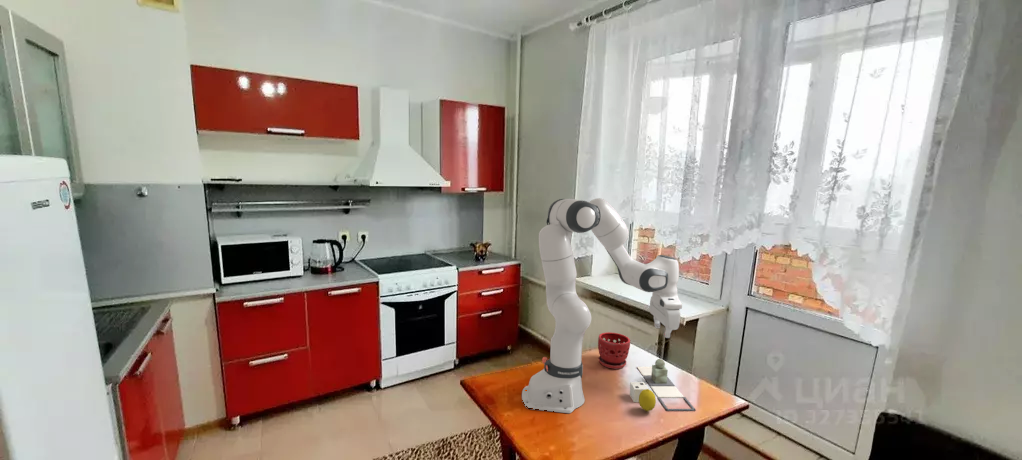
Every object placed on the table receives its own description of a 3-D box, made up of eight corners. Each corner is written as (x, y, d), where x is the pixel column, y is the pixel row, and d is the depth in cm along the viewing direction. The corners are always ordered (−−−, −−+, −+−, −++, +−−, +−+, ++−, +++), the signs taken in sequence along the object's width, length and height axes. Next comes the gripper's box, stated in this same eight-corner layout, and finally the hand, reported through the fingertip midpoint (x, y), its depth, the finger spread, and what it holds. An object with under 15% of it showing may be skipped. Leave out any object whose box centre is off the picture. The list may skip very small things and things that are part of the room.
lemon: (656, 416, 136) (657, 394, 135) (638, 414, 137) (640, 392, 136) (653, 407, 142) (655, 386, 141) (637, 405, 143) (638, 384, 142)
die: (633, 402, 145) (634, 388, 144) (629, 394, 150) (630, 381, 149) (647, 402, 145) (648, 388, 144) (643, 395, 150) (644, 381, 149)
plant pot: (621, 374, 165) (622, 346, 163) (591, 364, 173) (592, 337, 172) (633, 363, 175) (635, 336, 174) (605, 354, 183) (606, 329, 182)
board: (666, 411, 140) (666, 409, 140) (636, 367, 171) (636, 366, 171) (695, 410, 140) (695, 409, 140) (659, 367, 171) (659, 366, 171)
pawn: (655, 383, 157) (656, 361, 156) (651, 377, 162) (652, 356, 160) (666, 383, 157) (668, 362, 156) (662, 377, 162) (663, 356, 161)
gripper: (646, 289, 165) (644, 322, 167) (666, 305, 145) (664, 342, 147) (661, 289, 165) (659, 322, 167) (684, 306, 145) (681, 343, 147)
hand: (661, 332), depth 157 cm, fingers open, 8 cm apart
